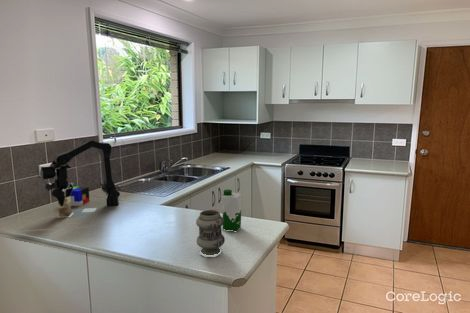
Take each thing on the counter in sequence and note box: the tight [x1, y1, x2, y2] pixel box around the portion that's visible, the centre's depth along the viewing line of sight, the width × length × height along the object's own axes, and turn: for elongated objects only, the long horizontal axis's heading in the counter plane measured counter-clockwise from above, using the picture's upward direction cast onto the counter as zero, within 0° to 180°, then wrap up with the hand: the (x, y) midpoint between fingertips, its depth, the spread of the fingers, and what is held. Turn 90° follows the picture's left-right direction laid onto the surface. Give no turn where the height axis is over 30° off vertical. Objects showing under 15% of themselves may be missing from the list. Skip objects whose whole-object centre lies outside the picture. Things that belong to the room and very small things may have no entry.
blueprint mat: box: [55, 207, 97, 219], centre depth 194 cm, size 18×14×1 cm
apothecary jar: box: [195, 209, 226, 255], centre depth 142 cm, size 12×12×18 cm
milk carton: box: [221, 189, 242, 232], centre depth 169 cm, size 9×9×20 cm
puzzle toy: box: [70, 186, 90, 207], centre depth 212 cm, size 10×10×10 cm
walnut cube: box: [58, 205, 72, 218], centre depth 190 cm, size 5×5×5 cm
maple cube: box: [57, 197, 72, 209], centre depth 189 cm, size 5×5×5 cm
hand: (64, 203), depth 189 cm, fingers open, 9 cm apart
